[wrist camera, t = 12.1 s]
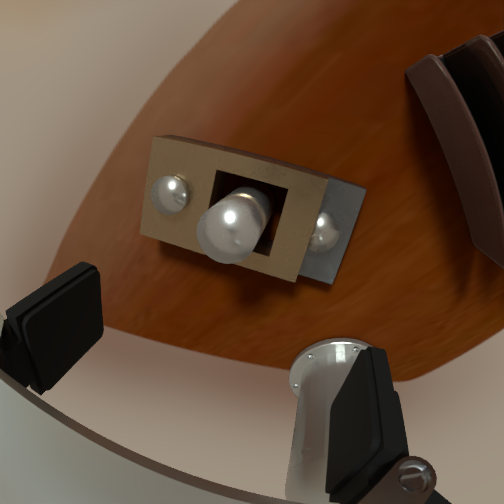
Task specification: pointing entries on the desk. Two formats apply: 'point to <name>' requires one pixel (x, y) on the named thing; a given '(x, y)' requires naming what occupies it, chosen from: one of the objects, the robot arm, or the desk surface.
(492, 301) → the desk surface
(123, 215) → the desk surface
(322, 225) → the square hole plate
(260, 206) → the steel pin
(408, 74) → the letter holder
